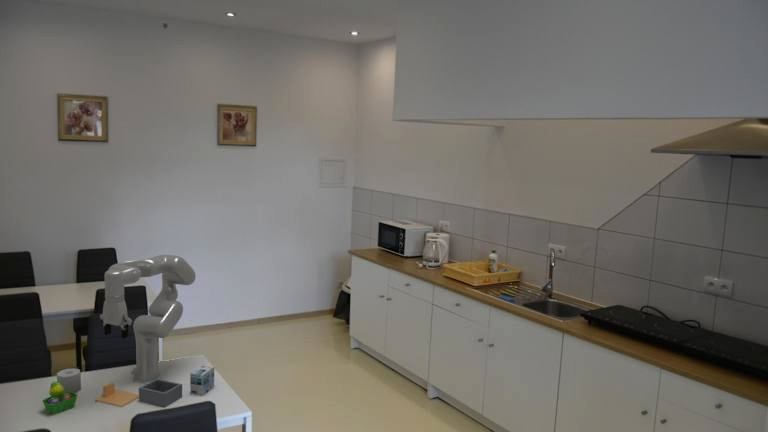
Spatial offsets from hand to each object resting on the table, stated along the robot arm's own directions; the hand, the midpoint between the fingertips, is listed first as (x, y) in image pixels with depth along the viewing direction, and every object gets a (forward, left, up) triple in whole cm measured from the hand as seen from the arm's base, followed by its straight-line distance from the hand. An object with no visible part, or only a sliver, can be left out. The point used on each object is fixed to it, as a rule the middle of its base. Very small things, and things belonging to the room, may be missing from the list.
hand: (116, 335), depth 253 cm
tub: (+20, +5, -28) cm, 35 cm away
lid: (+3, -2, -29) cm, 29 cm away
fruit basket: (-13, -18, -29) cm, 36 cm away
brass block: (+22, +6, -27) cm, 36 cm away
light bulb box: (+30, +20, -29) cm, 46 cm away
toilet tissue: (-25, -3, -29) cm, 38 cm away
